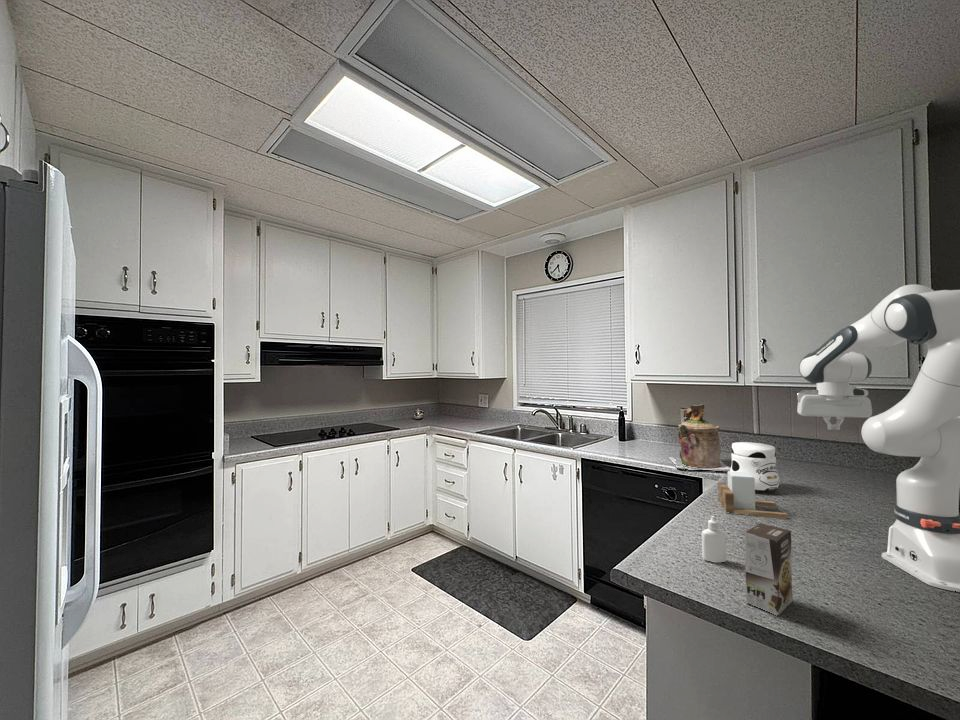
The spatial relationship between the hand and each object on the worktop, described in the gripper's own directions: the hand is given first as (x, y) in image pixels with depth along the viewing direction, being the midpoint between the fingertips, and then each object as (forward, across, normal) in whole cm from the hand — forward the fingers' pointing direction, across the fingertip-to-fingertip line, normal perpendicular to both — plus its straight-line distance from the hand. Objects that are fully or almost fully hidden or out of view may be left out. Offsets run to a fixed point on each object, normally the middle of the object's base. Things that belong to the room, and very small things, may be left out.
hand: (833, 429), depth 144 cm
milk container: (+29, -19, +23) cm, 42 cm away
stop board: (+29, -34, -5) cm, 45 cm away
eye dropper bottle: (+29, -46, -51) cm, 75 cm away
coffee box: (+29, -38, -69) cm, 84 cm away
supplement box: (+29, -30, -5) cm, 42 cm away
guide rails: (+29, -26, -5) cm, 40 cm away
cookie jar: (+30, -35, +57) cm, 73 cm away
